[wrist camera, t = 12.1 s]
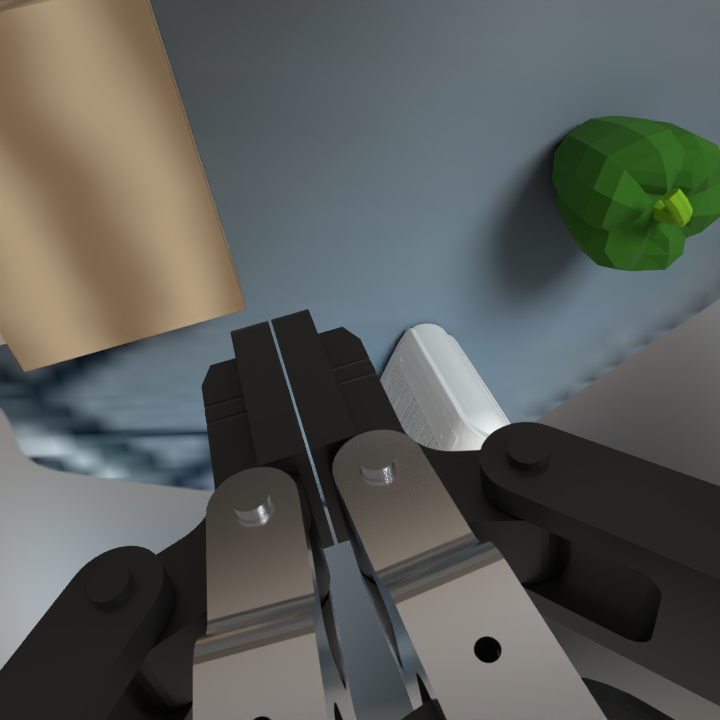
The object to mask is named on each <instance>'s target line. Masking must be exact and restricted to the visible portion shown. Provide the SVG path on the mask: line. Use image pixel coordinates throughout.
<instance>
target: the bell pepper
mask: <svg viewBox="0 0 720 720" xmlns="http://www.w3.org/2000/svg"><path fill="white" fill-rule="evenodd" d="M552 183H553V185H554V187H555V188H556V190H557V192H556V205H557V207H558V210H559V212H560V214H561V217H562V218H563V220H564V222H565V224H566V226H567V227H568V229H569V231H570V233H571V234H572V236H573V238H574V239H575V241H576V242H577V244H578V245H579V247H580V249H581V250H582V251H583V252H584V253H585V254H587V255H588V256H589V257H590V258H591V259H592V260H593V261H594V262H595V263H596V264H597V265H599V266H604V267H609V268H613V269H619V270H627V271H643V270H665V269H666V268H668V267H669V266H670V265H671V264H672V263H673V262H674V261H675V260H676V259H678V258H679V257H680V256H681V255H682V254H683V250H684V244H685V239H686V238H687V237H689V236H692V235H695V234H697V233H700V232H702V231H703V230H704V229H706V228H707V227H708V226H709V225H710V224H712V223H713V222H714V221H715V220H716V219H718V218H719V217H720V150H719V148H718V146H717V145H716V144H714V143H712V142H710V141H708V140H706V139H703V138H701V137H699V136H697V135H695V134H693V133H691V132H689V131H686V130H684V129H682V128H680V127H678V126H675V125H673V124H671V123H666V122H659V121H652V120H647V119H640V118H633V117H623V116H609V117H601V118H594V119H590V120H588V121H586V122H584V123H583V124H581V125H580V126H579V127H577V128H576V129H575V130H573V131H572V132H571V133H569V134H568V135H567V136H566V137H565V138H564V140H563V141H562V143H561V144H560V146H559V147H558V148H557V150H556V151H555V153H554V164H553V173H552Z"/></svg>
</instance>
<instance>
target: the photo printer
mask: <svg viewBox="0 0 720 720" xmlns="http://www.w3.org/2000/svg"><path fill="white" fill-rule="evenodd" d="M380 382H381V384H382V386H383V388H384V390H385V392H386V394H387V396H388V398H389V400H390V403H391V405H392V407H393V409H394V411H395V413H396V415H397V417H398V419H399V421H400V423H401V426H402V427H403V429H404V431H405V432H406V433H407V435H408V436H409V437H411V438H412V439H413V440H414V441H416V442H417V443H419V444H421V445H423V446H426V447H428V448H432V449H436V450H442V451H467V450H480V449H481V446H482V444H483V442H484V441H485V439H486V438H487V437H488V436H489V435H490V434H491V433H493V432H494V431H495V430H497V429H499V428H501V427H503V426H506V425H509V424H510V422H509V421H508V419H507V418H506V416H505V414H504V413H503V411H502V410H501V408H500V407H499V405H498V404H497V402H496V401H495V399H494V398H493V396H492V394H491V393H490V391H489V390H488V388H487V387H486V385H485V384H484V382H483V381H482V379H481V378H480V376H479V375H478V373H477V372H476V370H475V368H474V367H473V365H472V364H471V362H470V361H469V359H468V358H467V356H466V355H465V353H464V352H463V350H462V349H461V347H460V346H459V344H458V343H457V341H456V340H455V339H454V338H453V337H452V336H449V335H447V333H446V332H445V330H444V329H443V328H441V327H440V326H438V325H435V324H419V325H416V326H414V327H413V328H409V329H408V330H407V331H406V332H405V334H404V335H403V337H402V338H401V340H400V341H399V343H398V345H397V347H396V349H395V351H394V353H393V355H392V356H391V358H390V360H389V363H388V365H387V366H386V368H385V370H384V373H383V375H382V377H381V379H380Z"/></svg>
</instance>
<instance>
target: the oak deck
mask: <svg viewBox="0 0 720 720" xmlns="http://www.w3.org/2000/svg"><path fill="white" fill-rule="evenodd" d="M245 309H246V307H245V303H244V299H243V295H242V291H241V288H240V284H239V280H238V276H237V272H236V269H235V266H234V263H233V260H232V257H231V253H230V250H229V247H228V244H227V241H226V238H225V235H224V232H223V228H222V225H221V222H220V219H219V216H218V213H217V210H216V207H215V203H214V200H213V197H212V194H211V191H210V188H209V185H208V181H207V178H206V175H205V172H204V169H203V166H202V163H201V160H200V156H199V153H198V150H197V147H196V144H195V141H194V138H193V134H192V131H191V128H190V125H189V122H188V119H187V116H186V113H185V109H184V106H183V103H182V100H181V97H180V94H179V91H178V88H177V84H176V81H175V78H174V75H173V72H172V69H171V66H170V62H169V59H168V56H167V53H166V50H165V47H164V44H163V41H162V37H161V34H160V31H159V28H158V25H157V22H156V19H155V15H154V12H153V9H152V6H151V3H150V0H0V334H1V335H2V337H3V338H4V340H5V342H6V343H7V345H8V346H9V348H10V350H11V351H12V353H13V354H14V356H15V358H16V359H17V361H18V362H19V364H20V366H21V367H22V369H23V370H24V372H27V371H30V370H34V369H37V368H41V367H44V366H48V365H51V364H55V363H58V362H62V361H66V360H69V359H73V358H76V357H80V356H83V355H87V354H90V353H94V352H97V351H101V350H104V349H108V348H111V347H115V346H118V345H122V344H125V343H129V342H132V341H136V340H139V339H143V338H147V337H150V336H154V335H157V334H161V333H164V332H168V331H171V330H175V329H178V328H182V327H185V326H189V325H192V324H196V323H199V322H203V321H206V320H210V319H213V318H217V317H221V316H224V315H228V314H231V313H235V312H238V311H242V310H245Z"/></svg>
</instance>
